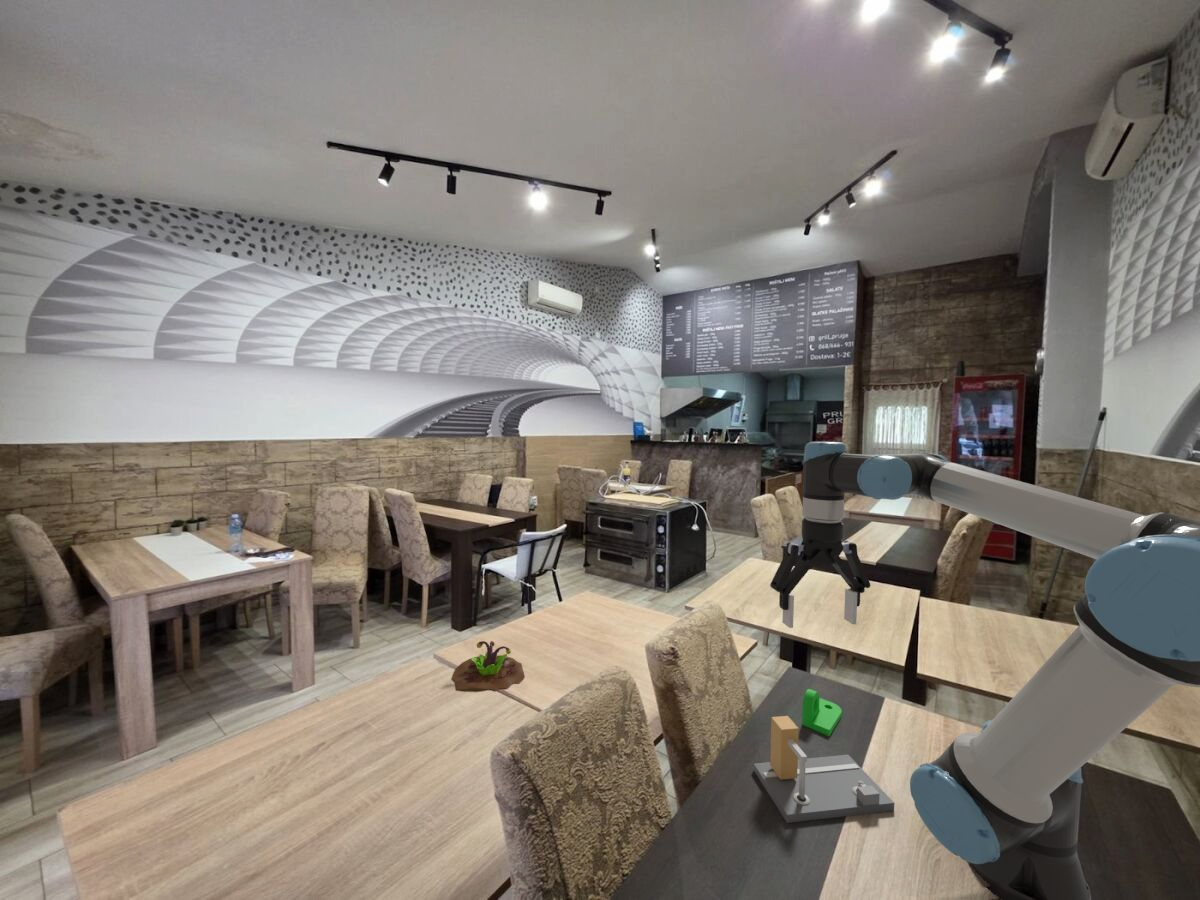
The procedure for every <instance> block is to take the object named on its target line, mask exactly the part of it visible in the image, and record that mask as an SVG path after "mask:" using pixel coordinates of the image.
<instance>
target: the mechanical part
mask: <svg viewBox="0 0 1200 900" xmlns="http://www.w3.org/2000/svg"><path fill="white" fill-rule="evenodd" d="M842 712H843V711H842V709H841V707H840V706H839V705H838V704H836V703H834V702H832V701H829V700H826V699H824V698H822V697H820V693H819V691H816V690H813V689H810V688H808V689H806V691H805V694H804V696H803V702H802V720H801V721H802V722H801V725H802V726H804V727H807V728H808V729H809V728H810V729H811V730H813V731H816V732H818V733H820V734H823V735H825V736H827V737H830V736H831V734H832V733H833V732H834V729H835V728H836V726H837V725H838V723H839V721H840V720H841V719H842V714H843V713H842Z"/></svg>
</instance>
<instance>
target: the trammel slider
mask: <svg viewBox="0 0 1200 900" xmlns="http://www.w3.org/2000/svg"><path fill="white" fill-rule="evenodd" d="M770 719H771V720H770V721H771V723H770V761H769V762H770V766H771V767H772V768H773V770H774V771H775V773H776V774H777V776H778V777H779V778H780V780H782V779H792V778H797V768H798V759H800V771H799V796H801V797H804V796H805V768H806V762H807V758H808V756H807V755H806V754H805V752H804V751H803V750H802V749H801V747H800V746H799V731H800V730H799V729H800V727H798V726H797V724H796V723H795V722H794V721H793V720H792V719H791V718H790V717H789V715H783V716H781V715H780V716H772V717H771V718H770Z"/></svg>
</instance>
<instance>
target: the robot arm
mask: <svg viewBox="0 0 1200 900" xmlns="http://www.w3.org/2000/svg"><path fill="white" fill-rule="evenodd" d="M847 452H848V451H847V445H846V444H845V443H844V442H841V441H840V442H839V441H837V442H836V441H810V442H808V443H806V444H805V446H804V452H803V453H804V455H803V460H802V465H803V467H802V468H803V476H802V477H803V478H802V482H803V483H802V485H803V486H802V516H803V517H804V518H803V519H802V520H801V539H802V542H801V544H797V543H793V542H790V541H789V542H787V543H786V547H785V554H784V555H783V557H782V560H781V562H780V564H779V565H778V567H777V570H776V571H775V573H774V576H773V578H772V580H771V582H770V584H769V585H770V588H771V589H773V590H774V591H776V592H777V593H779V598H778V599H779V602H778V603H779V607H780V609H782V624H784V625H785V626H786V627H787V628H789V629H793V628H794V609H795V607H794V606H795V604H794V603H795V601H794V600H795V595H794V594H792V592H793V590H794V589H795V588H796V586H798V584H799V583H800V581H801V580H802V579H803V578H804V577H805V576H806V574H807V573H808V571H810V570H812V569H813V568H814V567H818V568H819V567H824V566H825V567H832V566H833V567H834V569H835V570H836V571H837V573H838V574H839V575H840V576H841V578H842V580H844V581H845V583H846V585H847V586H848V587H845V588H844V610H843V611H844V615H843V619H844V620H845V621H846V622H849V623H850V624H851V625H857V614H858V613H857V611H858V607H860V604H861V594H863V593H864V592H865V588H866V589H869V588H870V587H871V582H870V580H869V578H868V575H867V572H866V571H865V569H864V566H863V564H862V562H861V560H860V556H859V554H858V546H857V543H854V542H852V541H850V540H843V539H844V522H843V521H842V520H843V519H844V518H845V494H851V495H857V496H862V497H867V498H873V499H875V500H890V501H891V500H892V501H894V500H899V499H900V498H902V497H903V496H904V495H916V496H919V497H922V498H925V499H927V500H930V501H934V502H935V503H936V502H937V503H940V504H943V505H945V506H948V507H951V508H953V509H957V510H959V511H962V512H965V513H967V514H969V515H970V514H971V515H973V516H975V517H978V518H981V519H983V520H987V521H989V522H993V523H995V524H997V525H1001V526H1004V527H1006V528H1008V529H1012V530H1014V531H1017V532H1020V533H1023V534H1025V535H1028V536H1030V537H1034V538H1037V539H1039V540H1041V541H1044V542H1047V543H1050V544H1052V545H1056V546H1059V547H1061V548H1064V549H1067V550H1070V551H1072V552H1074V553H1079V554H1081V555H1084V556H1086V557H1090V558H1091V559H1094V560H1095V561H1094V562H1093V563H1092V565H1091V566H1090V568H1089V569H1088V571H1087V573H1086V576H1085V580H1084V581H1085V582H1084V594H1083V595H1082V596H1081V597H1080V598H1079V599H1078V600H1077V601H1076V603H1075V604H1074V605H1073V608H1072V609H1073V613H1074V616H1075V618H1076V620H1077V622H1078V623H1079V625H1078V626H1077V628H1076V629H1074V631H1073V632H1072V633H1071V634H1070V635H1069V636H1068V637H1067V638H1066V639H1065V641H1063V643H1062V644H1061V645H1060V646H1059V647H1058V648H1057V649H1056V650H1055V651H1054V653H1052V655H1051V656H1050V657H1049V658H1048V659H1047V660H1046V662H1044V663H1043V665H1042V666H1040V668H1039V669H1038V670H1037V671H1036V672H1035V673H1034V674H1033V675H1032V677H1030V679H1029V680H1028V681H1027V682H1026V683H1025V684H1024V685H1023V686H1022V687H1021V688H1020V689H1019V690H1018V691H1017V693H1016V694H1015V695H1014V696H1013V697H1012V698H1011V700H1009V702H1007V704H1006V705H1005V706H1004V707H1003V708H1002V709H1001V710H1000V711H999V712H998V714H997V715H995V717H994V718H993V719H991V720H987V721H985V722H984V723H983V725H982V729H981V730H980V733H976V732H963V733H961V734H960V735H958V736H957V737H956V738H955V739H954V740H953V742H952V743H950V745H949V746H948V747H947V748H946V749H945V750H944V751H943V753H942V754H941V755H939V757H938V758H935V760H933V761H932V762H930V763H929V762H928V763H927V762H925V763H923V764H920V765H919V766H918V768H916V769H915V770H914V771H913V772H912V774H911V776H910V780H909V789H910V794H911V795H910V796H911V797H912V799H913V801H914V802H913V803H914V807H915V809H916V811H917V813H918V815H919V817H920V819H921V820H922V822H923V824H924V825H925V826H926V828H927V830H928V831H929V832H930V833H931V835H932V836H933V837H934V838H935V839H936V840H937V842H939V843H940V844H941V845H942V846H943V847H944V848H945V849H946V850H947V851H949V852H950V853H952V854H953V855H954V856H956V857H957V856H958V857H959V858H960V859H961V860H963V861H965V862H968V863H969V865H970V866H971V867H972V868H973V870H974V871H975V873H977V874H978V876H979V877H981V879H982V880H983V881H984V882H986V884H988V885H987V886H986V888H987V889H988V890H989V891H990V892H992V893H993V894H994V895H995V896H996V897H998V898H1000V899H1001V900H1092V894H1091V889H1090V887H1089V885H1088V883H1087V880H1086V878H1085V876H1084V873H1083V869H1082V865H1081V861H1080V858H1079V855H1078V839H1079V837H1078V835H1079V826H1080V825H1079V823H1080V822H1079V821H1080V812H1081V811H1080V809H1081V796H1082V784H1083V783H1084V779H1083V778H1082V767H1083V766H1084V765H1085V764H1086V763H1087V762H1089V761H1090V760H1091V759H1092V758H1094V756H1095V755H1096V754H1098V753H1099V752H1100V751H1102V749H1103V748H1104V747H1106V746H1107V745H1108V744H1109V743H1110V742H1111V741H1113V740H1114V739H1115V738H1116V737H1117V736H1118V735H1120V733H1122V731H1124V730H1125V729H1126V728H1128V727H1129V725H1131V724H1132V723H1133V722H1134V721H1136V719H1138V717H1140V716H1141V715H1142V714H1143V713H1145V712H1146V711H1147V710H1148V709H1149V708H1151V706H1152V705H1154V703H1156V702H1157V701H1158V700H1160V698H1161V697H1163V696H1164V695H1165V694H1166V693H1168V692H1169V691H1170V689H1172V688H1173V687H1174V686H1176V685H1177V686H1186V687H1191V688H1200V521H1198V520H1194V519H1190V518H1186V517H1182V516H1179V515H1174V514H1172V513H1171V514H1170V513H1166V512H1161V511H1159V512H1155V513H1152V514H1149V515H1144V514H1140V513H1137V512H1133V511H1129V510H1126V509H1122V508H1118V507H1115V506H1112V505H1108V504H1103V503H1101V502H1097V501H1093V500H1089V499H1086V498H1083V497H1082V498H1081V497H1079V496H1075V495H1071V494H1068V493H1065V492H1060V491H1056V490H1053V489H1050V488H1046V487H1042V486H1039V485H1036V484H1031V483H1028V482H1023V481H1021V480H1017V479H1014V478H1010V477H1007V476H1003V475H1002V476H1001V475H999V474H995V473H992V472H988V471H984V470H980V469H978V468H974V467H970V466H966V465H963V464H959V463H956V462H952V461H950V460H949V459H948V458H946V456H944V455H941V454H937V453H929V452H918V453H896V454H895V453H894V454H893V453H891V454H890V453H889V454H886V453H885V454H863V453H862V454H861V453H847ZM842 541H843V542H842ZM842 552H843V553H844V555H845V558H846V560H847V562H848V565H849V567H850V569H851V571H852V572H851V571H850V570H849V569H848V567H847V566H846V564H845V562H844V561H843V560H842V558H841V557H840V555H841V554H842ZM801 553H802V555H801ZM800 555H801V556H800ZM798 556H800V557H798ZM796 562H797V563H796ZM795 564H796V565H795Z"/></svg>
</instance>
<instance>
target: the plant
mask: <svg viewBox="0 0 1200 900" xmlns="http://www.w3.org/2000/svg"><path fill="white" fill-rule="evenodd" d="M483 645H485V646H486V649H487V650H486V652H485V655H483V654H478V656H474V657H471V658H469V659H467V660H465V661H463V662H461V663H460V664H459V665H458V666H457V667H456V668H455V669H454V671H453V673H452V676H451V681H452V682H453V683H454V684H455V691H459V692H482V691H484V692H486V691H493V692H495V693H496V692H498V691H499V690H509V688H510V687H511V686H512V685H519V684H521V683H523V681H524V680H525V677H526V676H525V671H524V669H523V665H522V663H521V662H519V661H517V660H516V659H515V658H513V657H510V656H508V655H510V654H511V653H512V651H511V648H510V647H508V646H505V645H504V646H503V645H502V646H499V647H497V648H496V649H495V650H493V648H494V646H496V644H495V641H492V640H491V641H490V642H489V643H488V642H487V641H484V640H483V641H482V640H481V641H479V642H477V643H476V648H478V649H480V648H482V646H483ZM503 649H505V652H506V654H501V655H498V654H499V652H500V650H503Z"/></svg>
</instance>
